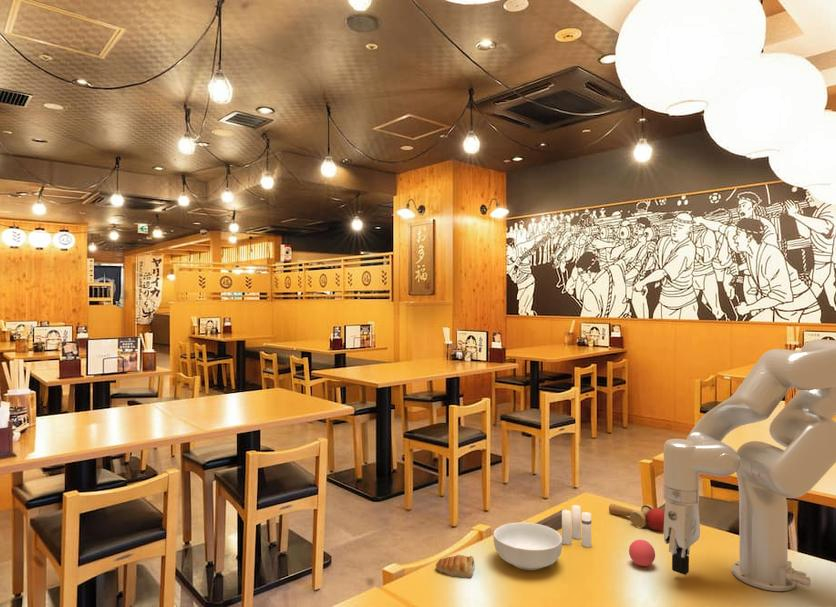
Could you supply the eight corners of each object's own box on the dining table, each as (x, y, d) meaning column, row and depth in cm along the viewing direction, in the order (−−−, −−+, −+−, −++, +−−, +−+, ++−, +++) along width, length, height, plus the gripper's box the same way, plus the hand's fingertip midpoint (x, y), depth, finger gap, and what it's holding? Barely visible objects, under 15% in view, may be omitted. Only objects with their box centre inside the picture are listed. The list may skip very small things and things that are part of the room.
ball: (659, 565, 134) (659, 540, 134) (648, 573, 130) (648, 548, 130) (635, 556, 138) (635, 533, 138) (624, 564, 134) (624, 540, 134)
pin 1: (573, 542, 146) (572, 511, 146) (568, 545, 145) (568, 514, 145) (565, 540, 148) (564, 509, 148) (560, 542, 147) (560, 511, 147)
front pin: (593, 545, 145) (593, 513, 145) (588, 548, 143) (588, 516, 143) (584, 542, 147) (584, 511, 147) (580, 545, 145) (579, 513, 145)
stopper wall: (567, 524, 158) (567, 511, 158) (535, 541, 147) (535, 527, 147) (562, 523, 159) (562, 509, 159) (530, 540, 148) (530, 525, 148)
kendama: (603, 521, 164) (659, 533, 150) (603, 499, 165) (658, 509, 151) (618, 520, 168) (674, 531, 154) (618, 498, 170) (673, 507, 155)
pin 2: (582, 537, 150) (582, 506, 150) (578, 539, 148) (577, 508, 148) (574, 534, 152) (574, 504, 152) (570, 537, 150) (570, 506, 150)
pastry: (434, 577, 130) (434, 561, 130) (438, 563, 136) (437, 548, 136) (473, 580, 128) (473, 563, 128) (475, 566, 135) (475, 551, 135)
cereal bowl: (574, 561, 136) (574, 533, 136) (540, 587, 124) (540, 557, 124) (516, 541, 148) (516, 515, 148) (480, 563, 136) (480, 535, 136)
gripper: (685, 506, 119) (684, 589, 119) (709, 490, 129) (709, 566, 130) (651, 497, 125) (650, 576, 125) (677, 482, 135) (676, 555, 135)
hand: (680, 571), depth 127 cm, fingers closed
